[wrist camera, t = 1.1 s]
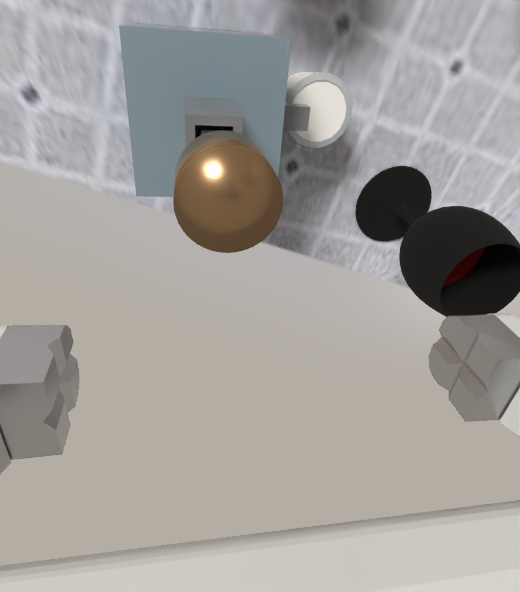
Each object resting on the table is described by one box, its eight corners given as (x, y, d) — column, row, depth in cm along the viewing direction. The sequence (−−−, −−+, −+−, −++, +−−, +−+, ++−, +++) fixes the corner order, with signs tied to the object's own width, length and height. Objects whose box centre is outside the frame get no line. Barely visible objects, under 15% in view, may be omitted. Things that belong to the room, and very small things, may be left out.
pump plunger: (251, 104, 26) (288, 149, 17) (247, 179, 29) (277, 252, 20) (174, 101, 25) (170, 146, 16) (177, 178, 28) (176, 253, 19)
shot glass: (306, 144, 48) (323, 161, 43) (258, 110, 45) (270, 123, 40) (343, 90, 46) (367, 101, 40) (296, 50, 43) (313, 55, 37)
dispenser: (289, 35, 42) (365, 46, 25) (279, 155, 48) (332, 230, 31) (137, 23, 39) (103, 27, 22) (147, 152, 46) (127, 231, 29)
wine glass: (350, 243, 57) (419, 334, 40) (360, 167, 51) (445, 238, 34) (421, 237, 58) (515, 323, 42) (438, 163, 52) (556, 229, 36)
